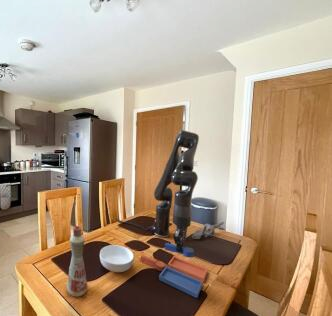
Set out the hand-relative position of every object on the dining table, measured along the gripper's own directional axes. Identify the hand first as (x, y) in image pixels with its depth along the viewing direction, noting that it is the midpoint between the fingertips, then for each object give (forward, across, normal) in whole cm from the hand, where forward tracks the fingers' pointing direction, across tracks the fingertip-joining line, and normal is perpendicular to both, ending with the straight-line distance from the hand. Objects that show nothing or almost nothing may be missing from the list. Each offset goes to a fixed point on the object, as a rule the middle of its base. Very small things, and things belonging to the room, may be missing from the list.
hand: (179, 250), depth 90 cm
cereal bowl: (+14, +12, -26) cm, 32 cm away
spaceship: (+14, -61, +3) cm, 63 cm away
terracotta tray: (+14, -10, +2) cm, 17 cm away
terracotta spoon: (+14, -2, -13) cm, 19 cm away
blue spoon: (+1, 0, 0) cm, 1 cm away
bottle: (+14, +36, -30) cm, 49 cm away
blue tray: (+14, +2, +2) cm, 14 cm away
